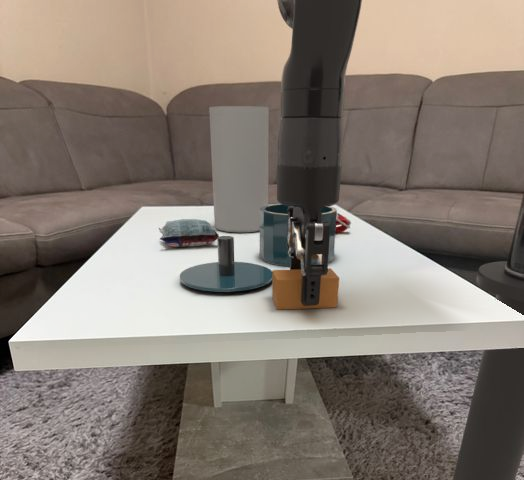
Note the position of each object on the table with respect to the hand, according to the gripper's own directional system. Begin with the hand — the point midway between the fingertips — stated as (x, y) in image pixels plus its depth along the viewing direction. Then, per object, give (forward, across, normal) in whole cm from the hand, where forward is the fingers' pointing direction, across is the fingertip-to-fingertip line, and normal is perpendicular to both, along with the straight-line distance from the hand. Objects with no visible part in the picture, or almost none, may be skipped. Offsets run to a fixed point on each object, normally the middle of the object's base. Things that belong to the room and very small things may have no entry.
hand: (303, 293), depth 60 cm
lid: (+1, +11, +10) cm, 15 cm away
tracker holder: (+1, +43, -13) cm, 45 cm away
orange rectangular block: (+1, 0, 0) cm, 1 cm away
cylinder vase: (+1, +52, +5) cm, 52 cm away
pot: (+1, +24, -4) cm, 24 cm away
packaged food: (+2, +36, +16) cm, 40 cm away
